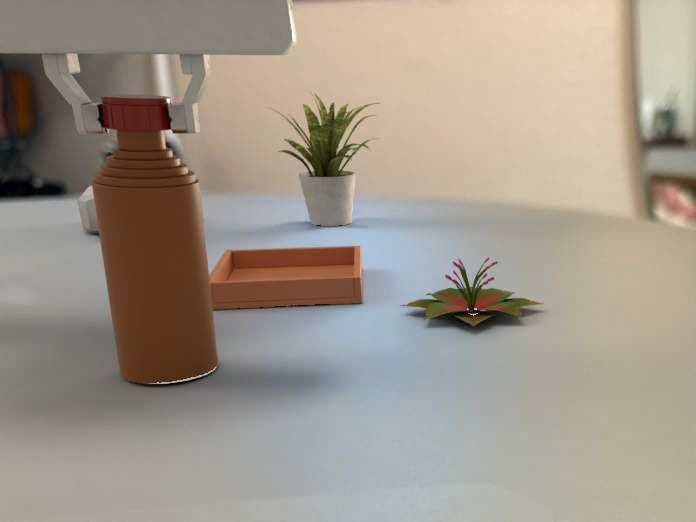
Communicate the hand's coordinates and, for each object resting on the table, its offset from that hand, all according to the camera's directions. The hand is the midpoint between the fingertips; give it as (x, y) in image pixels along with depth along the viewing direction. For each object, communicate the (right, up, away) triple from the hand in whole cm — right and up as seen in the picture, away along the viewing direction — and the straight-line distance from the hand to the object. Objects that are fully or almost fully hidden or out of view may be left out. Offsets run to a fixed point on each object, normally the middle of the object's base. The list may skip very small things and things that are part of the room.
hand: (141, 133), depth 54 cm
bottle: (-1, -15, +6) cm, 16 cm away
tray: (+2, -6, +27) cm, 28 cm away
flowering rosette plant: (+19, -9, +20) cm, 30 cm away
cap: (0, +2, 0) cm, 2 cm away
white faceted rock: (-26, +4, +51) cm, 58 cm away
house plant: (-1, +6, +57) cm, 57 cm away
